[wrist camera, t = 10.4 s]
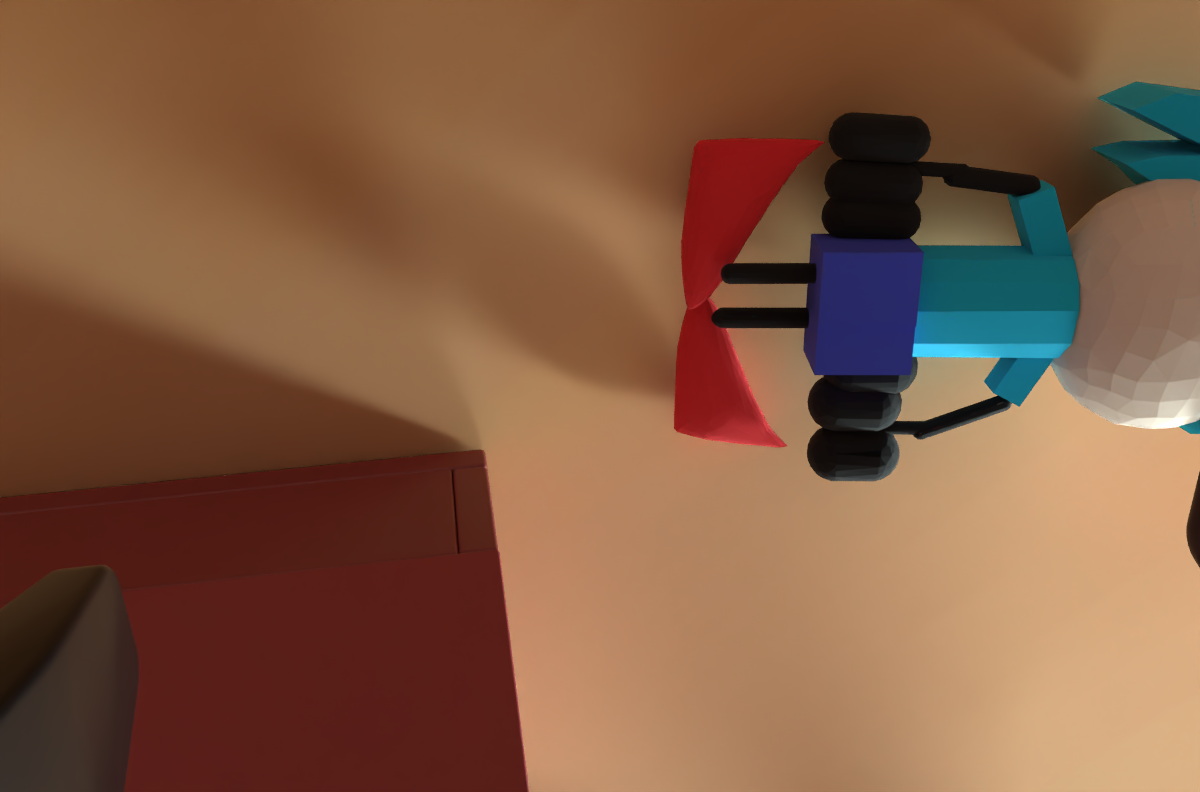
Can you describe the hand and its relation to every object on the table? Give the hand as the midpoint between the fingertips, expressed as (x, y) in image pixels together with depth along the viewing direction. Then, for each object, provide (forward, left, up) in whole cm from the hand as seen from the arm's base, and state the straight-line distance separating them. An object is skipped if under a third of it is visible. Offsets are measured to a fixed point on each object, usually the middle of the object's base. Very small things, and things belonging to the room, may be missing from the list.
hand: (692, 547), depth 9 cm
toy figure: (-3, -10, -13) cm, 17 cm away
